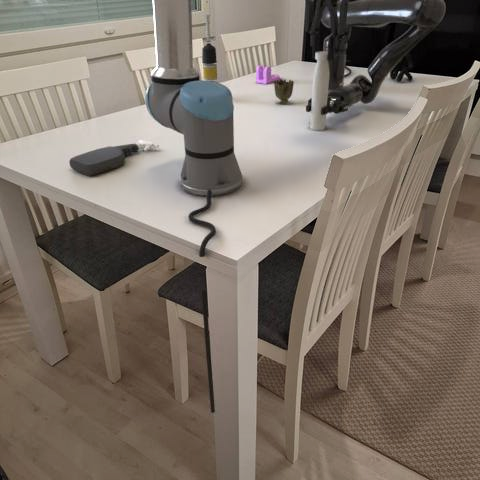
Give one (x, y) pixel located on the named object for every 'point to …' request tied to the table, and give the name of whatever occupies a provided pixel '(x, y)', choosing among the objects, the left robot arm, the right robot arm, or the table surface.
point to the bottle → (319, 94)
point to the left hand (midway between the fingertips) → (322, 58)
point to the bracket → (265, 75)
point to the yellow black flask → (209, 57)
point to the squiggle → (404, 70)
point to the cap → (321, 55)
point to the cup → (283, 90)
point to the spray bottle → (106, 157)
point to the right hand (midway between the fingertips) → (314, 110)
